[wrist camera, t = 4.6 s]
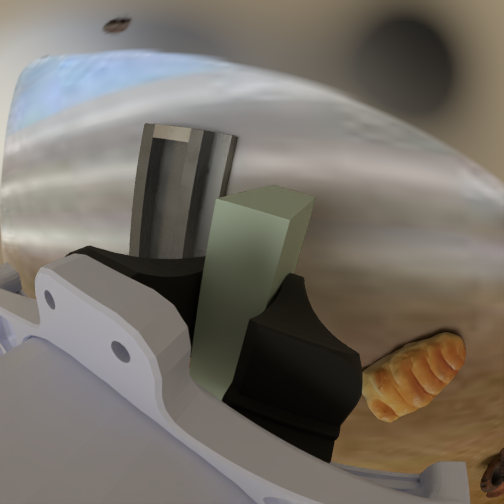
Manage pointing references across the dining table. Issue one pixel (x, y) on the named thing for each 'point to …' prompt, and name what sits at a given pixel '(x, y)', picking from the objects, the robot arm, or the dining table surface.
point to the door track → (178, 190)
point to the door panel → (243, 274)
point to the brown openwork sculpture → (494, 478)
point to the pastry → (412, 375)
